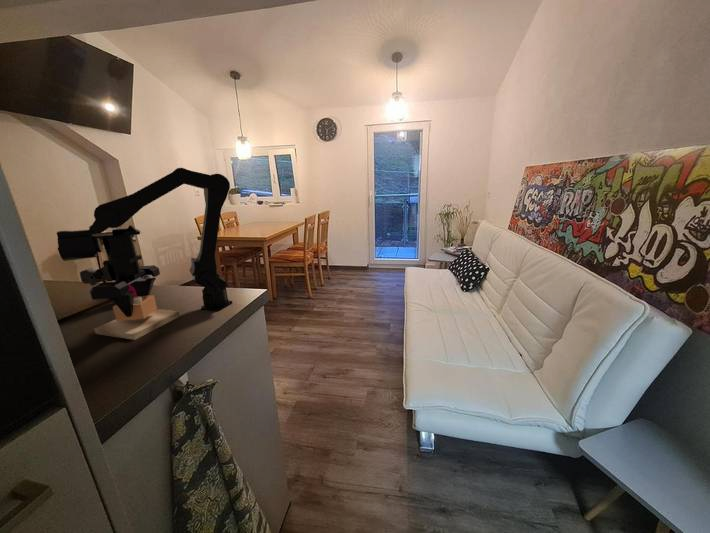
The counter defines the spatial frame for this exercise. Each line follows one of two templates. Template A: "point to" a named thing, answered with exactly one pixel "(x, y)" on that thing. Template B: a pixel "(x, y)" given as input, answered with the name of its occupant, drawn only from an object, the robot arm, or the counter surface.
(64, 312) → the counter surface
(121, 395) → the counter surface
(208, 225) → the robot arm
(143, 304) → the open square box
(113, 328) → the duct base
